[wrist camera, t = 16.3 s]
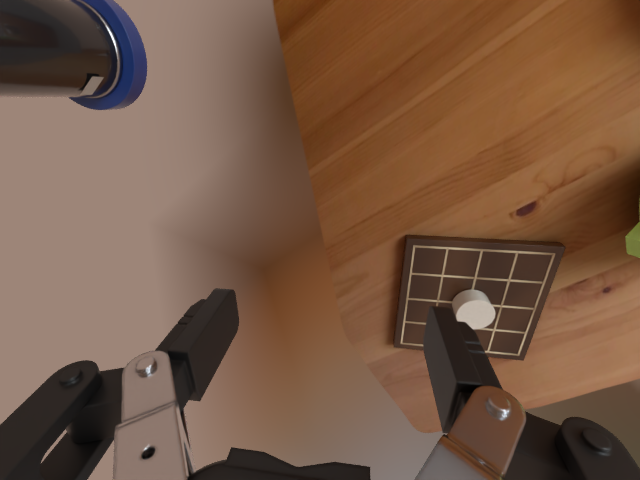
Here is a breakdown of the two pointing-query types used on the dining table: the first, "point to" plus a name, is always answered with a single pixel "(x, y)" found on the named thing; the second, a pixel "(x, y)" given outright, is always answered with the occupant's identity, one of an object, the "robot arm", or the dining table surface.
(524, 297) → the board
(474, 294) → the white cylindrical puck
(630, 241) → the teapot
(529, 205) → the dining table surface
